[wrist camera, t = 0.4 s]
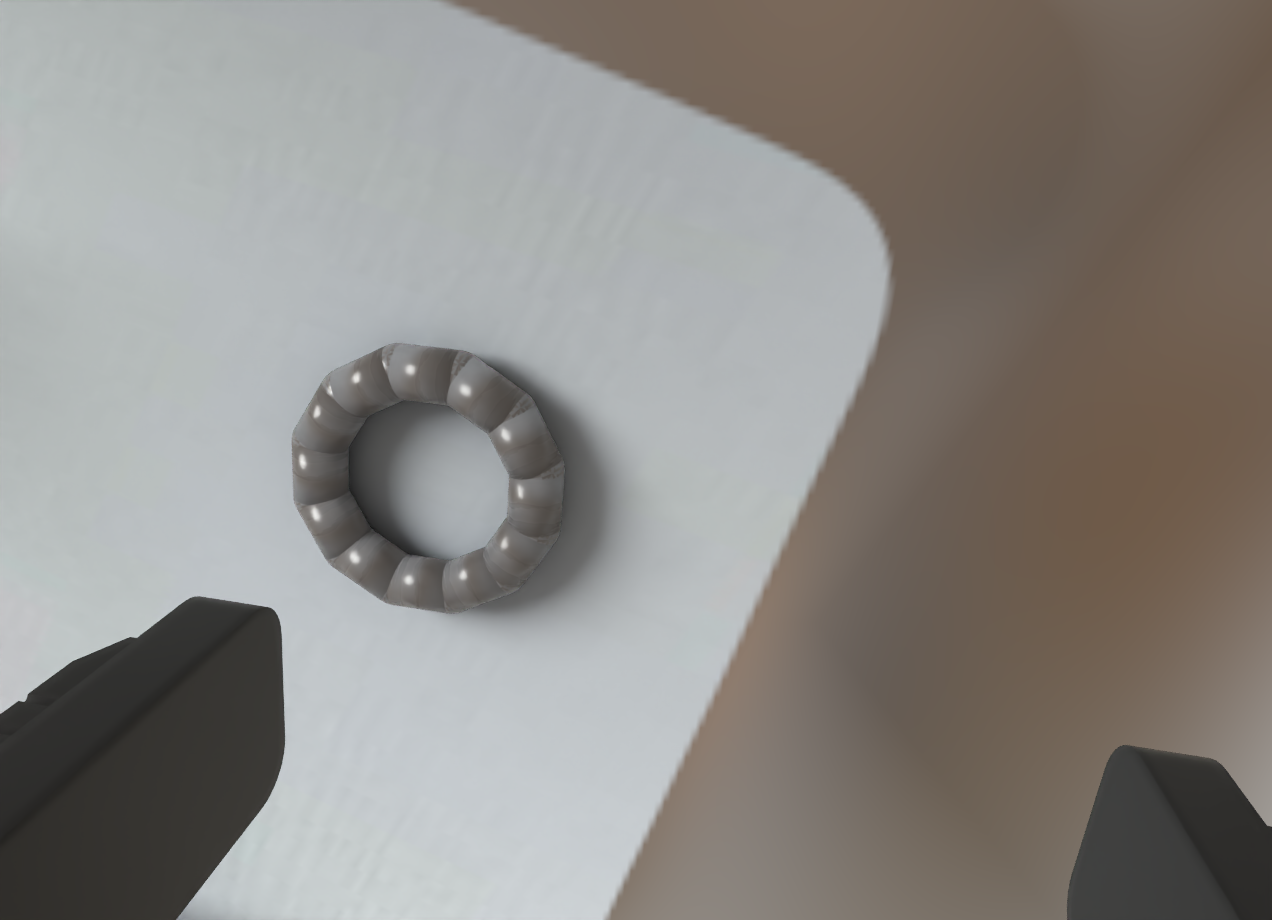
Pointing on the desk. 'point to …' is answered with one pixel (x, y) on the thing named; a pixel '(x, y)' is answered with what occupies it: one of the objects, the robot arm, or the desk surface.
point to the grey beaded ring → (482, 403)
